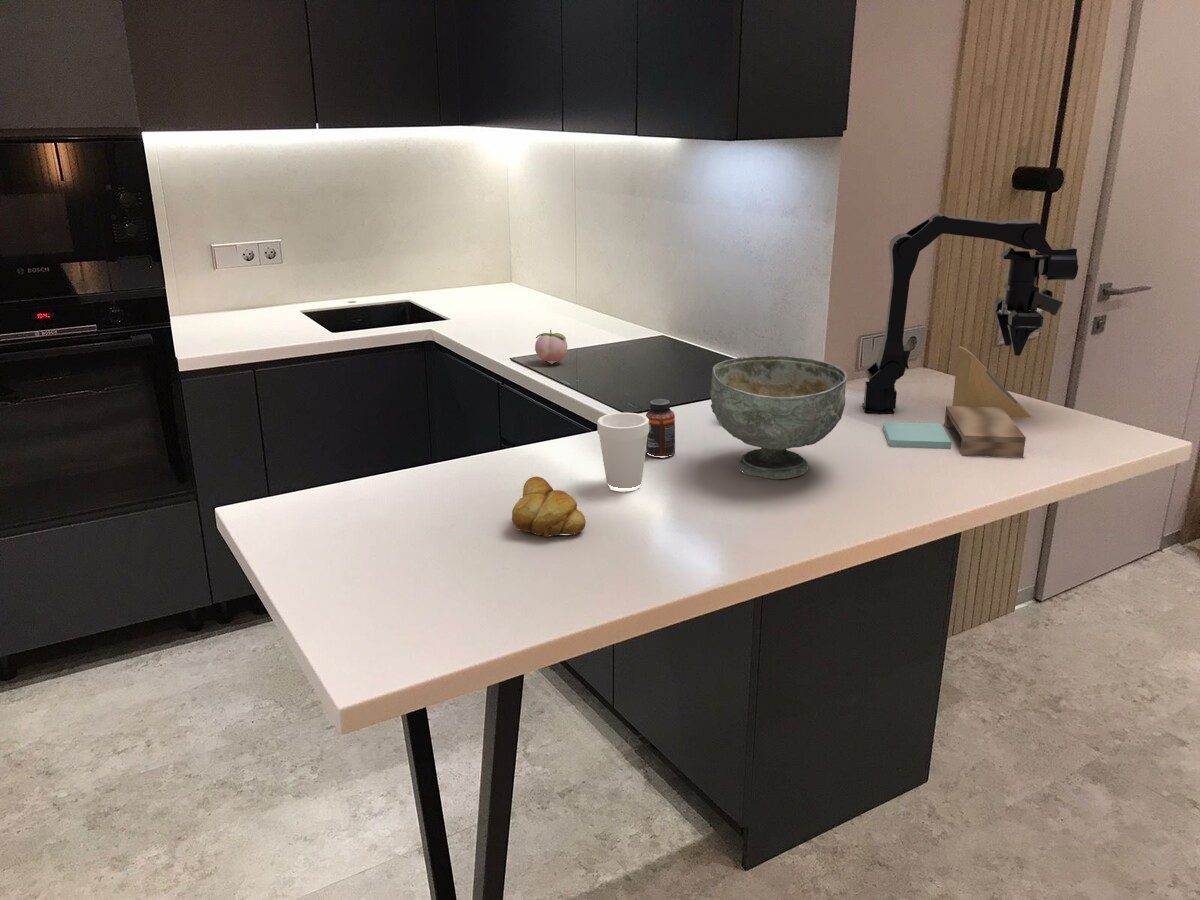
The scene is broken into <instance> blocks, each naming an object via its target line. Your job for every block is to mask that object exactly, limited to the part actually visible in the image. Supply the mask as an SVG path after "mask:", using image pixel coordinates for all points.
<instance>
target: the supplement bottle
mask: <svg viewBox="0 0 1200 900" xmlns="http://www.w3.org/2000/svg"><path fill="white" fill-rule="evenodd" d="M670 401H671V400H668V399H665V398H656V399H653V400H650V403H649V408H650V409H649V410H648V411H647V412H646V414H645V416H646V417H647V418H648V419H649V433H648V436H647V444H646V451H647V452H646V454H647V453H649V454H651V455H654V456H669V455H672V454H674V455H675V454H676V415H675V414H676V413H674V411H673V410H671V402H670ZM672 456H673V455H672Z"/></svg>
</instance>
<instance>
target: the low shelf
mask: <svg viewBox="0 0 1200 900" xmlns="http://www.w3.org/2000/svg"><path fill="white" fill-rule="evenodd" d="M944 414H945V415H944V422H943V424H944V426H945V428H955V429H956V431H957V432H958V434H959V436H960V438H961V443H960V449H959V450H960V455H961V456H966V457H967V456H969V457H1000V458H1024V456H1025V455H1024V453H1025V446H1026V445H1025V444H1026V438H1027V436H1025V434H1024V433H1023V432H1022V431H1021V430H1020V428H1019V427H1018V426H1017V424H1016V423H1015V422H1014V421H1013V420H1012V418H1010V417H1009V416H1008V415H1007V413H1006V412H1005V411H1004V410H1003V408H1002V407H962V406H952V405H946V406H945V413H944Z"/></svg>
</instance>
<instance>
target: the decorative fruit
mask: <svg viewBox="0 0 1200 900" xmlns="http://www.w3.org/2000/svg"><path fill="white" fill-rule="evenodd" d="M549 332H550V333H549ZM549 332H542V333H539V334H537V335H536V337H535V339H536V341H535V345H534V351H535V353H536V355H537V357H539V359H541V360H542V361H543V360H544V361H543V362H545V361H559V362H560V360H561V361H562V360H563V359H564V358H565V357H566V355H567V352H568V342H567V338H566V336H565V335H564V334H563V333H559V332H557V333H556V332H555V333H554V332H552V329H549Z"/></svg>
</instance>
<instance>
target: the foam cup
mask: <svg viewBox="0 0 1200 900" xmlns="http://www.w3.org/2000/svg"><path fill="white" fill-rule="evenodd" d="M596 422H597V434H598V436H599V443H600V448H601V454H602V455H601V456H602V461H603V467H604V468H603V469H604V473H605V480H606V484H607V483H608V484H609V485H611V486H613V487H618V488H632V487H636V486H638V485H640V484H641V485H642V483H643V474H644V466H645V459H646V453H647V452H646V444H647V436H648V433H649V419H648V418H647V417H646V415H643V414H641V413H634V412H615V413H609V414H605V415H603V416H599V418H598V420H597V421H596ZM641 482H642V483H641ZM608 484H607V485H608Z"/></svg>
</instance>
